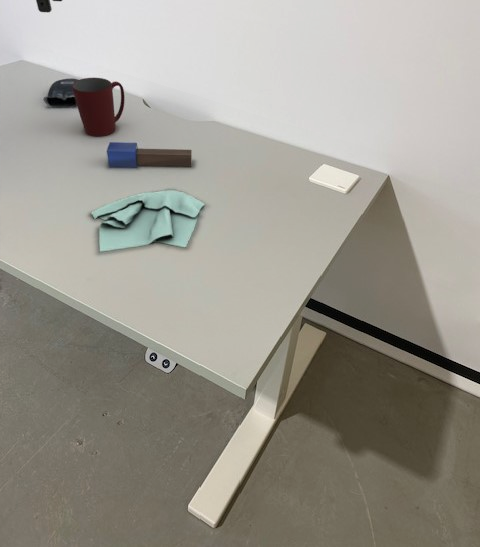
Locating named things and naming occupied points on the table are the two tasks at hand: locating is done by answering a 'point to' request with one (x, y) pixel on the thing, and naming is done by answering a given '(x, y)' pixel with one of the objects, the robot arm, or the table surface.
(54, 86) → the electronic device
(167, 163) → the brush
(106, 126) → the mug
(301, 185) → the table surface
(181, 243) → the cloth
